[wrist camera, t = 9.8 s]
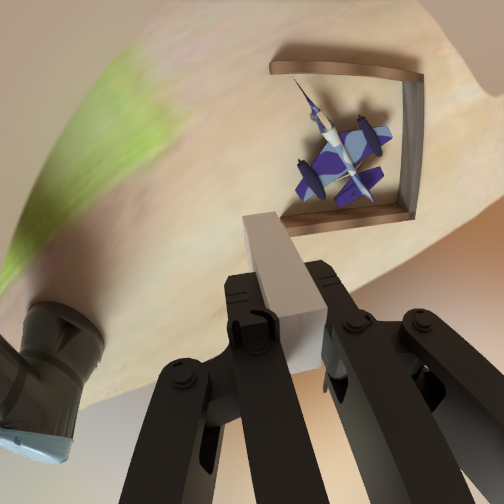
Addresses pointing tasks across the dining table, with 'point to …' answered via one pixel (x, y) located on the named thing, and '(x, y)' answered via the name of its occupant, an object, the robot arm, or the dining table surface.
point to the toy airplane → (342, 159)
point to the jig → (409, 160)
